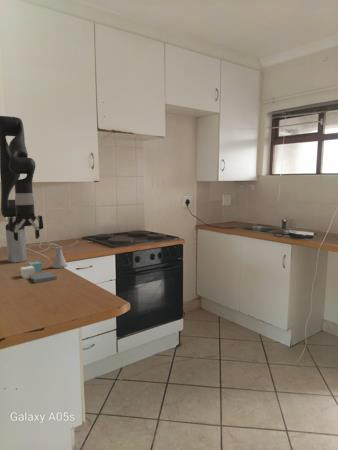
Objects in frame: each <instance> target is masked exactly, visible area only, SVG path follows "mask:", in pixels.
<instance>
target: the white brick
mask: <svg viewBox="0 0 338 450" xmlns="http://www.w3.org/2000/svg"><path fill="white" fill-rule="evenodd" d="M19 269H20V276H21V278H23V279H25V278H26V279H27V278H29V275H32V274H36V272H35V268H34V267H33V266H28V265H27V266H21V267H19Z"/></svg>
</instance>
